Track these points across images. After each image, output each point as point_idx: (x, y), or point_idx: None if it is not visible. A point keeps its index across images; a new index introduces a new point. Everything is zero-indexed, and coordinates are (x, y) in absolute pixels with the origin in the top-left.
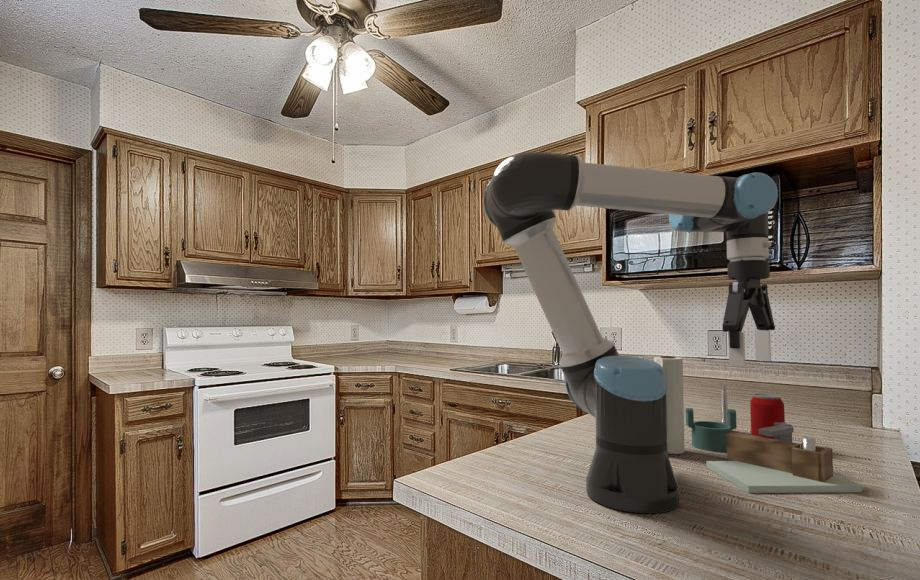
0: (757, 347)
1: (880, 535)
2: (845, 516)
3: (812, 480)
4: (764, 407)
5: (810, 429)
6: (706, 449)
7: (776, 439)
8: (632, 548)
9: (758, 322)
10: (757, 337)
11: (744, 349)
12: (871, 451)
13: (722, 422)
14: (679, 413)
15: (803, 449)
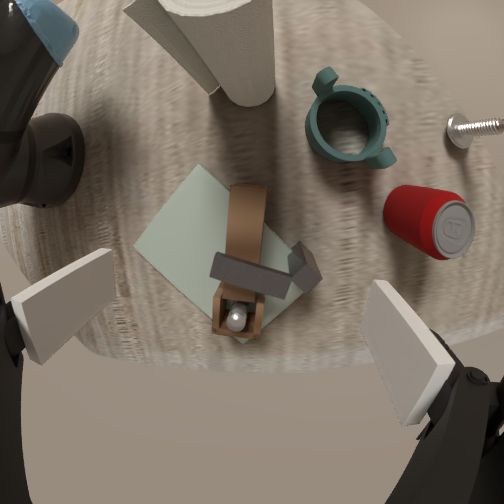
0: (391, 316)
1: (131, 347)
2: (150, 328)
3: None
4: (416, 226)
5: None
6: (305, 129)
7: (299, 257)
8: (5, 218)
9: (437, 430)
10: (413, 348)
11: (82, 324)
12: (449, 323)
13: (458, 127)
14: (227, 83)
15: (217, 311)
